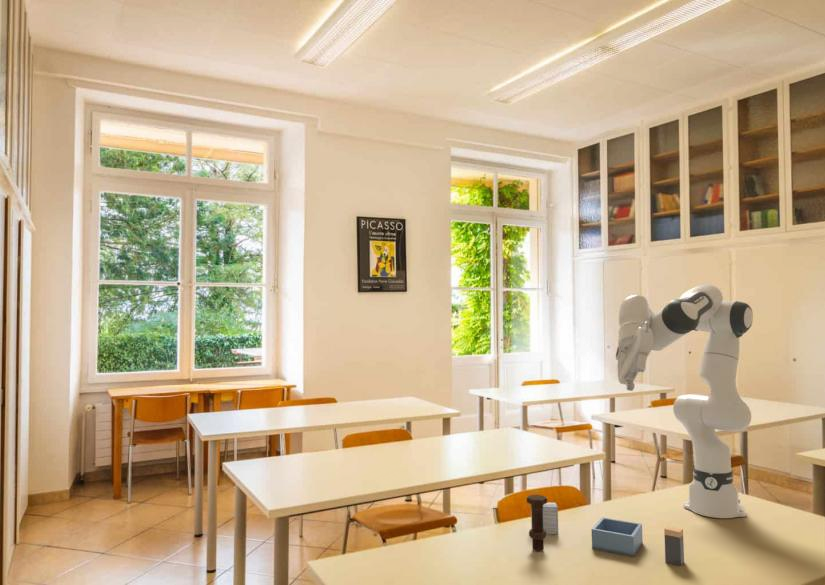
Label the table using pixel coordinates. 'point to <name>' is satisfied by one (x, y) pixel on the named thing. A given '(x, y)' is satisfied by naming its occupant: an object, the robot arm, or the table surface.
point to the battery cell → (674, 545)
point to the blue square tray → (617, 536)
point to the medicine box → (549, 518)
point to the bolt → (537, 521)
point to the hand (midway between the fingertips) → (635, 380)
